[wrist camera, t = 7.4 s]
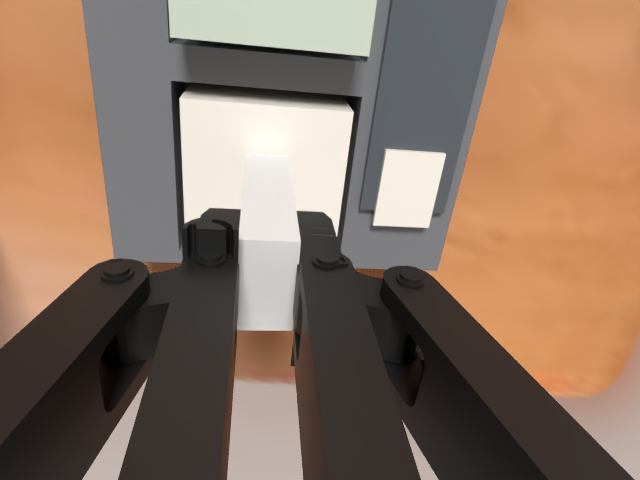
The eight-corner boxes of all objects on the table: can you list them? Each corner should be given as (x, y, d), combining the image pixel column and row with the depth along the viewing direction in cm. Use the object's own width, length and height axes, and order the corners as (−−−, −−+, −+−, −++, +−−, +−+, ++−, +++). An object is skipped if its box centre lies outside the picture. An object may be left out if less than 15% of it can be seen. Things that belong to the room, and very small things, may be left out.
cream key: (196, 215, 21) (185, 252, 18) (192, 80, 18) (179, 97, 16) (324, 221, 22) (334, 257, 19) (339, 92, 19) (353, 112, 16)
